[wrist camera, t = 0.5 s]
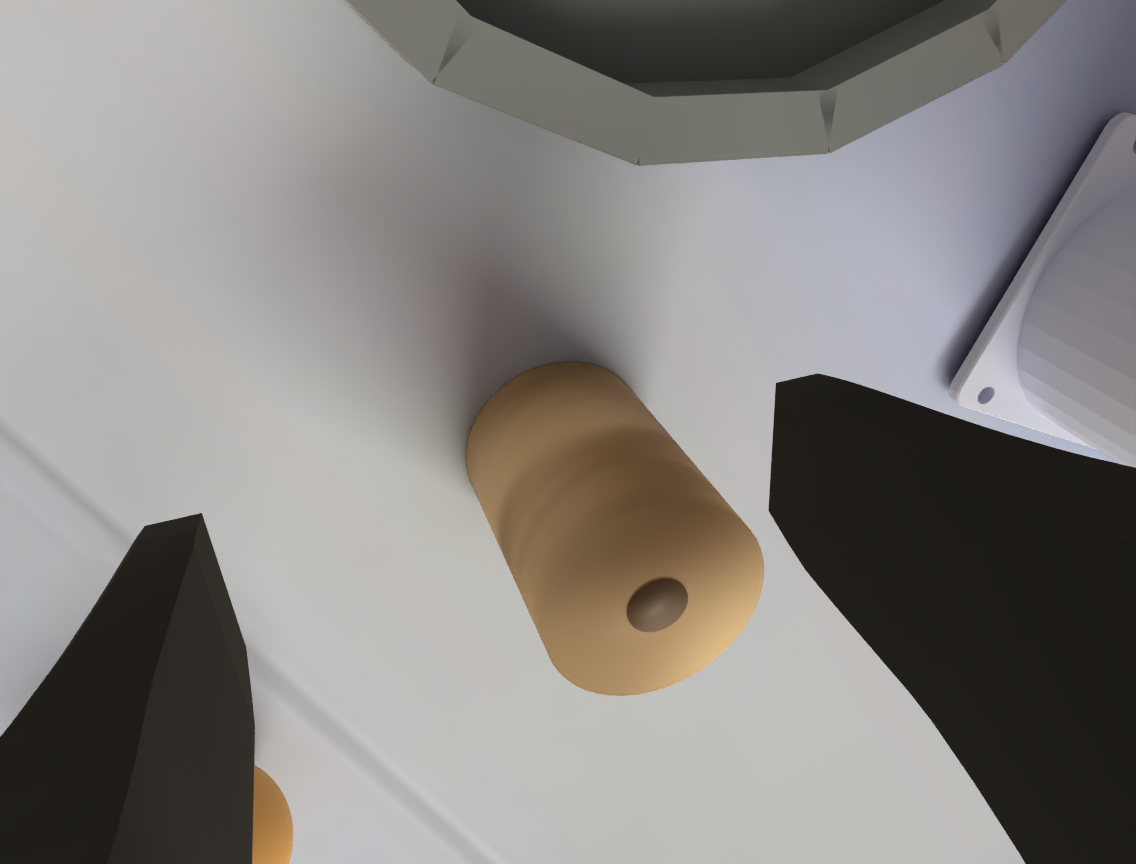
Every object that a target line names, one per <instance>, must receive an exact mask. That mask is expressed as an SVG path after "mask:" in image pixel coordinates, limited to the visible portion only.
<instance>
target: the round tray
mask: <svg viewBox="0 0 1136 864" xmlns="http://www.w3.org/2000/svg"><path fill="white" fill-rule="evenodd" d="M345 1H346V2H347V3H348V4H349V5H350V6H351V7H352V8H353V9H354V10H355V11H356V12H357V13H358V14H359V15H360V16H361V17H362V18H363V19H364V20H365V21H366V22H367V23H368V24H369V25H370V26H371V27H372V28H373V29H374V30H375V31H376V32H377V33H378V34H379V35H380V36H381V37H382V38H383V39H384V40H385V41H386V42H387V43H388V44H389V45H391V46H392V47H393V48H394V49H395V50H396V51H397V52H398V53H399V54H400V55H401V56H402V57H403V58H404V59H405V60H406V61H407V62H408V63H409V64H410V65H411V66H412V67H414V68H415V69H416V70H417V71H418V72H419V73H420V74H422V75H423V76H424V77H425V78H426V79H427V80H428V81H430V82H432V83H433V84H434V85H436V86H439V87H441V88H444V89H446V90H449V91H451V92H454V93H456V94H459V95H461V96H464V97H466V98H469V99H471V100H474V101H476V102H479V103H481V104H484V105H486V106H489V107H491V108H494V109H496V110H499V111H501V112H504V113H506V114H509V115H512V116H514V117H517V118H519V119H522V120H524V121H527V122H529V123H532V124H534V125H537V126H539V127H542V128H544V129H547V130H549V131H552V132H554V133H557V134H559V135H562V136H564V137H567V138H569V139H572V140H574V141H577V142H579V143H582V144H584V145H587V146H589V147H592V148H594V149H597V150H599V151H602V152H605V153H607V154H610V155H612V156H615V157H617V158H620V159H622V160H625V161H627V162H630V163H632V164H635V165H639V166H641V165H657V164H672V163H688V162H704V161H720V160H735V159H751V158H767V157H783V156H798V155H814V154H828V152H829V153H831V152H833V151H835V150H837V149H839V148H841V147H843V146H845V145H847V144H849V143H851V142H853V141H854V140H856V139H858V138H860V137H862V136H864V135H866V134H868V133H870V132H872V131H874V130H876V129H878V128H880V127H882V126H884V125H886V124H888V123H890V122H892V121H894V120H896V119H898V118H900V117H902V116H904V115H906V114H908V113H910V112H911V111H913V110H915V109H917V108H919V107H921V106H923V105H925V104H927V103H929V102H931V101H933V100H935V99H937V98H939V97H941V96H943V95H945V94H947V93H949V92H951V91H953V90H955V89H957V88H959V87H961V86H963V85H965V84H967V83H968V82H970V81H972V80H974V79H976V78H978V77H980V76H982V75H984V74H986V73H988V72H990V71H992V70H994V69H996V68H998V67H1000V66H1002V65H1003V63H1006V62H1007V61H1008V60H1009V59H1010V58H1011V57H1012V56H1013V55H1014V54H1015V53H1016V52H1017V51H1018V50H1019V49H1020V48H1021V47H1022V46H1023V45H1024V44H1025V42H1026V41H1027V40H1028V39H1029V38H1030V37H1031V36H1032V35H1033V34H1034V33H1035V32H1036V31H1037V30H1038V29H1039V28H1040V27H1041V26H1042V25H1043V24H1044V23H1045V22H1046V21H1047V20H1048V19H1049V18H1050V17H1051V16H1052V15H1053V14H1054V13H1055V12H1056V11H1057V10H1058V9H1059V8H1060V7H1061V6H1062V5H1063V4H1064V3H1065V2H1066V1H1067V0H345Z"/></svg>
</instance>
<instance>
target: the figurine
mask: <svg viewBox="0 0 1136 864" xmlns="http://www.w3.org/2000/svg"><path fill="white" fill-rule="evenodd" d="M292 845H293V824H292V818H291V813H290V809H289V806H288V804H287V801H286V799H285V797H284V795H283V793H282V791H281V790H280V788H279V787H278V785H277V784H276V783H275V782H274V780H273V779H272V778H271V777H270V776H269V775H268V774H266V773H265V772H264V771H263V770H261V769H260V768H258V767H257V766H255V765H254V802H253V850H252V864H289V861H290V857H291V852H292Z"/></svg>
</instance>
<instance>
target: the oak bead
mask: <svg viewBox="0 0 1136 864" xmlns="http://www.w3.org/2000/svg"><path fill="white" fill-rule="evenodd" d="M466 466H467V472H468V476H469V480H470V482H471V484H472V486H473V489H474V491H475V493H476V495H477V498H478V500H479V502H480V504H481V506H482V509H483V511H484V513H485V515H486V518H487V520H488V522H489V524H490V526H491V529H492V531H493V533H494V535H495V537H496V540H497V542H498V544H499V546H500V549H501V551H502V553H503V555H504V557H505V560H506V562H507V564H508V566H509V569H510V571H511V573H512V575H513V577H514V580H515V582H516V584H517V586H518V589H519V591H520V593H521V595H522V597H523V600H524V602H525V604H526V606H527V609H528V611H529V613H530V615H531V617H532V620H533V622H534V624H535V626H536V628H537V631H538V633H539V635H540V637H541V640H542V642H543V644H544V646H545V648H546V651H547V653H548V655H549V657H550V659H551V662H552V663H553V665H554V666H555V667H556V669H557V670H558V672H559V673H560V674H562V675H563V676H564V677H565V678H566V679H567V680H568V681H570V682H571V683H573V684H574V685H576V686H578V687H580V688H582V689H585V690H587V691H591V692H594V693H598V694H604V695H616V696H625V695H637V694H642V693H647V692H651V691H655V690H658V689H662V688H665V687H667V686H670V685H672V684H675V683H677V682H679V681H681V680H683V679H685V678H687V677H689V676H691V675H693V674H694V673H696V672H698V671H699V670H701V669H702V668H704V667H705V666H706V665H708V664H709V663H711V662H712V661H713V660H714V659H716V658H717V657H718V656H719V655H720V654H721V653H722V652H724V651H725V650H726V649H727V648H728V647H729V645H730V644H731V643H732V642H733V641H734V640H735V639H736V638H737V636H738V635H739V634H740V633H741V631H742V630H743V629H744V627H745V625H746V624H747V622H748V621H749V619H750V618H751V616H752V614H753V612H754V610H755V608H756V605H757V603H758V600H759V597H760V594H761V590H762V585H763V578H764V562H763V556H762V552H761V548H760V546H759V544H758V541H757V539H756V538H755V536H754V535H753V533H752V532H751V530H750V529H749V528H748V527H747V525H746V524H745V523H744V522H743V521H742V520H741V518H740V517H739V516H738V515H737V514H736V512H735V511H734V510H733V509H732V508H731V507H730V505H729V504H728V503H727V502H726V501H725V500H724V498H723V497H722V496H721V495H720V494H719V492H718V491H717V490H716V489H715V488H714V487H713V485H712V484H711V483H710V482H709V481H708V480H707V478H706V477H705V476H704V475H703V474H702V472H701V471H700V470H699V469H698V468H697V467H696V465H695V464H694V463H693V462H692V461H691V460H690V458H689V457H688V456H687V455H686V454H685V452H684V451H683V450H682V449H681V448H680V447H679V445H678V444H677V443H676V442H675V441H674V440H673V438H672V437H671V436H670V435H669V434H668V432H667V431H666V430H665V429H664V428H663V427H662V425H661V424H660V423H659V422H658V421H657V420H656V418H655V417H654V416H653V415H652V414H651V412H650V411H649V410H648V409H647V408H646V407H645V405H644V404H643V403H642V402H641V401H640V399H639V398H638V397H637V396H636V395H635V394H634V392H633V391H632V390H631V389H630V388H629V387H628V385H627V384H626V383H625V382H624V381H623V380H622V379H621V378H619V377H618V376H616V375H615V374H614V373H612V372H610V371H609V370H607V369H605V368H603V367H600V366H597V365H594V364H590V363H585V362H575V361H566V362H555V363H550V364H545V365H542V366H539V367H536V368H533V369H531V370H528V371H526V372H524V373H522V374H520V375H518V376H517V377H515V378H513V379H512V380H510V381H509V382H508V383H506V384H505V385H504V386H502V387H501V388H500V389H499V390H498V391H497V392H496V393H495V394H494V395H493V396H492V397H491V398H490V399H489V400H488V401H487V403H486V404H485V405H484V406H483V408H482V409H481V411H480V412H479V414H478V415H477V417H476V419H475V421H474V424H473V426H472V428H471V431H470V434H469V437H468V442H467V447H466Z"/></svg>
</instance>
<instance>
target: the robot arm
mask: <svg viewBox="0 0 1136 864" xmlns="http://www.w3.org/2000/svg"><path fill="white" fill-rule="evenodd" d="M1135 140H1136V115H1134V114H1130V113H1126V112H1124V113H1120V114H1117V115H1116V116H1115V117H1113V118H1112V119H1111V120H1110V121H1109V122H1108V124H1107V125H1106V126H1105V128H1104V129H1103V131H1102V133H1101V134H1100V136H1099V138H1098V139H1097V141H1096V143H1095V144H1094V146H1093V148H1092V149H1091V151H1090V153H1089V154H1088V156H1087V158H1086V159H1085V161H1084V163H1083V164H1082V166H1081V168H1080V169H1079V171H1078V173H1077V174H1076V176H1075V178H1074V179H1073V181H1072V183H1071V184H1070V186H1069V188H1068V189H1067V191H1066V193H1065V194H1064V196H1063V198H1062V199H1061V201H1060V203H1059V204H1058V206H1057V208H1056V209H1055V211H1054V213H1053V214H1052V216H1051V218H1050V219H1049V221H1048V223H1047V224H1046V226H1045V228H1044V229H1043V231H1042V233H1041V234H1040V236H1039V238H1038V239H1037V241H1036V243H1035V244H1034V246H1033V248H1032V249H1031V251H1030V252H1029V254H1028V256H1027V257H1026V259H1025V261H1024V262H1023V264H1022V266H1021V267H1020V269H1019V271H1018V272H1017V274H1016V276H1015V277H1014V279H1013V281H1012V282H1011V284H1010V286H1009V287H1008V289H1007V291H1006V292H1005V294H1004V296H1003V297H1002V299H1001V301H1000V302H999V304H998V306H997V307H996V309H995V311H994V312H993V314H992V316H991V317H990V319H989V321H988V322H987V324H986V326H985V327H984V329H983V331H982V332H981V334H980V336H979V337H978V339H977V341H976V342H975V344H974V346H973V347H972V349H971V351H970V352H969V354H968V356H967V357H966V359H965V361H964V362H963V364H962V366H961V367H960V369H959V371H958V372H957V374H956V376H955V377H954V379H953V380H952V383H951V385H950V388H949V395H950V398H951V399H952V400H953V401H955V402H956V403H958V404H959V405H961V406H962V407H965V408H968V409H971V410H975V411H978V412H981V413H984V414H987V415H990V416H993V417H997V418H1000V419H1003V420H1006V421H1009V422H1012V423H1016V424H1019V425H1022V426H1025V427H1028V428H1031V429H1034V430H1038V431H1041V432H1044V433H1047V434H1050V435H1053V436H1056V437H1060V438H1063V439H1066V440H1069V441H1072V442H1075V443H1078V444H1082V445H1085V446H1088V447H1091V448H1094V449H1096V450H1098V451H1099V452H1101V453H1102V454H1104V455H1105V456H1107V457H1109V458H1110V459H1112V460H1113V461H1115V462H1116V463H1113V462H1108V461H1104V460H1099V459H1095V458H1091V457H1087V456H1083V455H1079V454H1075V453H1071V452H1067V451H1063V450H1060V449H1056V448H1053V447H1049V446H1046V445H1042V444H1039V443H1036V442H1032V441H1029V440H1025V439H1022V438H1018V437H1015V436H1012V435H1008V434H1005V433H1002V432H999V431H996V430H992V429H989V428H986V427H983V426H980V425H977V424H974V423H971V422H968V421H965V420H962V419H959V418H956V417H953V416H950V415H947V414H944V413H941V412H938V411H935V410H932V409H929V408H926V407H924V406H921V405H918V404H915V403H912V402H909V401H906V400H903V399H900V398H897V397H895V396H892V395H889V394H886V393H883V392H880V391H877V390H874V389H871V388H868V387H865V386H862V385H858V384H855V383H852V382H849V381H845V380H842V379H838V378H835V377H831V376H826V375H822V374H814V375H809V376H805V377H800V378H796V379H791V380H787V381H783V382H778V383H776V393H775V410H774V427H773V445H772V462H771V480H770V497H769V512H770V514H771V515H772V517H773V519H774V520H775V522H776V524H777V525H778V527H779V529H780V530H781V532H782V534H783V535H784V537H785V539H786V540H787V542H788V544H789V545H790V547H791V548H792V550H793V551H794V553H795V555H796V556H797V558H798V559H799V561H800V562H801V564H802V565H803V567H804V568H805V570H806V571H807V572H808V573H809V575H810V576H811V577H812V578H813V580H814V581H815V582H816V583H817V585H818V586H819V587H820V588H821V589H822V590H823V592H824V593H825V594H826V595H827V596H828V598H829V599H830V600H831V601H832V602H833V604H834V605H835V606H836V607H837V608H838V610H839V611H840V612H841V613H842V614H843V615H844V617H845V618H846V619H847V620H848V621H849V622H850V624H851V625H852V626H853V627H854V628H855V629H856V631H857V632H858V633H859V634H860V635H861V636H862V638H863V639H864V640H865V641H866V642H867V643H868V645H869V646H870V647H871V648H872V649H873V650H874V652H875V653H876V654H877V655H878V656H879V657H880V659H881V660H882V661H883V662H884V663H885V664H886V666H887V667H888V668H889V669H890V670H891V671H892V673H893V674H894V675H895V676H896V677H897V678H898V680H899V681H900V682H901V683H902V684H903V685H904V687H905V688H906V689H907V690H908V691H909V692H910V694H911V695H912V696H913V698H914V699H915V700H916V701H917V703H918V704H919V705H920V707H921V708H922V709H923V710H924V712H925V713H926V714H927V715H928V717H929V718H930V719H931V721H932V722H933V723H934V725H935V726H936V728H937V729H938V731H939V732H940V734H941V735H942V736H943V738H944V739H945V741H946V742H947V744H948V745H949V747H950V748H951V750H952V751H953V753H954V754H955V755H956V757H957V758H958V760H959V761H960V763H961V764H962V766H963V767H964V769H965V770H966V771H967V773H968V774H969V776H970V777H971V779H972V780H973V782H974V783H975V785H976V786H977V788H978V789H979V791H980V792H981V794H982V796H983V797H984V799H985V800H986V802H987V803H988V805H989V806H990V808H991V810H992V811H993V813H994V814H995V816H996V817H997V819H998V821H999V822H1000V824H1001V825H1002V827H1003V828H1004V830H1005V831H1006V833H1007V835H1008V836H1009V838H1010V839H1011V841H1012V842H1013V844H1014V845H1015V847H1016V849H1017V850H1018V852H1019V853H1020V855H1021V857H1022V858H1023V860H1024V862H1025V863H1026V864H1136V143H1135V145H1134V142H1135ZM1133 145H1134V146H1133ZM982 390H983V391H982ZM981 391H982V392H981ZM980 392H981V394H980V395H979V393H980ZM1117 463H1118V464H1117ZM254 742H255V723H254V713H253V704H252V694H251V685H250V677H249V668H248V660H247V651H246V646H245V643H244V640H243V637H242V634H241V631H240V628H239V625H238V622H237V619H236V616H235V613H234V610H233V607H232V603H231V600H230V597H229V594H228V591H227V588H226V585H225V582H224V579H223V576H222V573H221V570H220V567H219V564H218V561H217V558H216V555H215V552H214V549H213V546H212V543H211V540H210V537H209V534H208V531H207V528H206V525H205V522H204V519H203V516H202V513H200V514H196V515H191V516H187V517H183V518H178V519H174V520H169V521H165V522H161V523H156V524H152V525H147V526H145V527H144V528H143V529H142V531H141V532H140V534H139V535H138V536H137V538H136V539H135V541H134V543H133V544H132V546H131V547H130V549H129V551H128V552H127V554H126V555H125V557H124V559H123V560H122V562H121V564H120V565H119V567H118V569H117V570H116V572H115V574H114V575H113V577H112V578H111V580H110V582H109V583H108V585H107V587H106V588H105V590H104V591H103V593H102V595H101V596H100V598H99V599H98V601H97V602H96V604H95V606H94V607H93V609H92V610H91V612H90V613H89V615H88V616H87V618H86V619H85V621H84V622H83V624H82V625H81V627H80V628H79V630H78V631H77V633H76V634H75V636H74V637H73V639H72V640H71V642H70V643H69V645H68V646H67V648H66V649H65V651H64V652H63V654H62V655H61V657H60V658H59V660H58V661H57V663H56V664H55V665H54V667H53V668H52V670H51V671H50V672H49V674H48V675H47V676H46V678H45V679H44V680H43V682H42V683H41V684H40V686H39V687H38V688H37V690H36V691H35V692H34V694H33V695H32V696H31V698H30V699H29V700H28V702H27V703H26V704H25V706H24V707H23V708H22V710H21V711H20V712H19V714H18V715H17V716H16V718H15V719H14V720H13V722H12V723H11V724H10V726H9V727H8V728H7V729H6V731H5V732H4V733H3V734H2V736H1V737H0V864H252V850H253V802H254Z"/></svg>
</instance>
